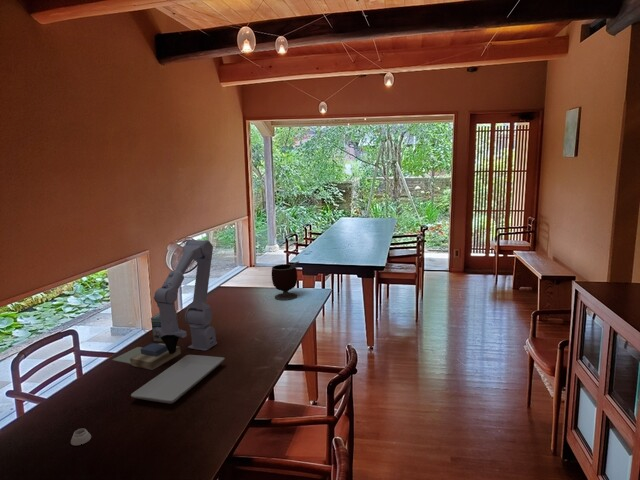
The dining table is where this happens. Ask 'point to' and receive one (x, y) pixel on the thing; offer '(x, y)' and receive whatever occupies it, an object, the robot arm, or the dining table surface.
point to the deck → (153, 359)
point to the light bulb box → (157, 323)
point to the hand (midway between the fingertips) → (172, 352)
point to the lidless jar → (80, 437)
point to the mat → (128, 355)
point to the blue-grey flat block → (154, 349)
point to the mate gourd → (285, 280)
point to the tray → (178, 379)
